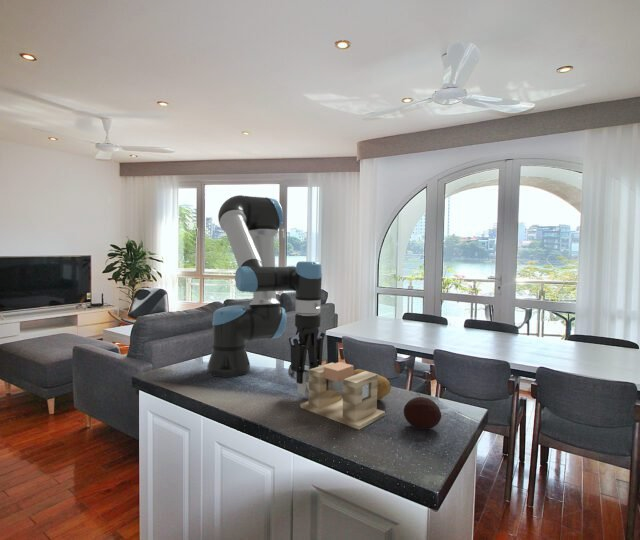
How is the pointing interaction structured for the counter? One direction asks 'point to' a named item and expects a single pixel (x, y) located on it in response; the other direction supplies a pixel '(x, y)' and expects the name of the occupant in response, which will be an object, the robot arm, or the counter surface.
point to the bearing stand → (344, 399)
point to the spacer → (338, 371)
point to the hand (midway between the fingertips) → (306, 391)
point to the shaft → (329, 382)
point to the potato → (378, 385)
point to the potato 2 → (422, 413)
